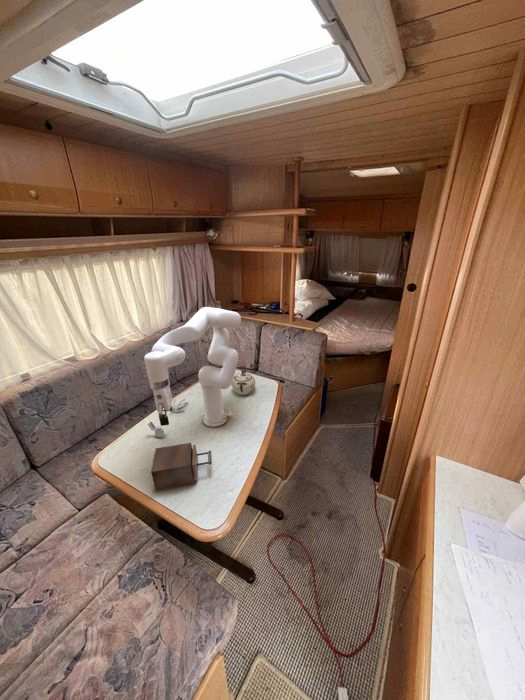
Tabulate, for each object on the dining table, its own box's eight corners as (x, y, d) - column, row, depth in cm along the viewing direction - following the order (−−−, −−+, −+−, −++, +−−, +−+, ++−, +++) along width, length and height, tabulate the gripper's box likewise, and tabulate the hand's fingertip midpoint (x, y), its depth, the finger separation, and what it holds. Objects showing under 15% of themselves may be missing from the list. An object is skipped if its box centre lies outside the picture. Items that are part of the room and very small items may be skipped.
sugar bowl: (234, 383, 181) (233, 363, 175) (257, 383, 180) (256, 363, 174) (229, 400, 163) (227, 378, 157) (254, 400, 162) (253, 378, 156)
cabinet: (194, 460, 121) (191, 442, 117) (193, 483, 110) (190, 464, 106) (159, 466, 118) (155, 448, 114) (155, 490, 107) (150, 472, 103)
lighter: (165, 435, 136) (162, 422, 133) (163, 437, 135) (160, 424, 132) (152, 433, 138) (149, 421, 134) (150, 436, 136) (147, 423, 133)
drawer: (212, 456, 121) (210, 441, 118) (213, 477, 111) (211, 461, 108) (166, 464, 118) (162, 449, 115) (163, 486, 108) (159, 471, 104)
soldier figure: (190, 406, 160) (178, 412, 149) (185, 411, 161) (173, 417, 150) (183, 395, 161) (170, 401, 150) (178, 400, 162) (165, 406, 151)
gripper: (166, 392, 100) (173, 429, 107) (172, 371, 116) (178, 404, 123) (144, 394, 99) (153, 432, 106) (153, 372, 115) (160, 406, 122)
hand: (166, 417), depth 114 cm, fingers open, 9 cm apart
